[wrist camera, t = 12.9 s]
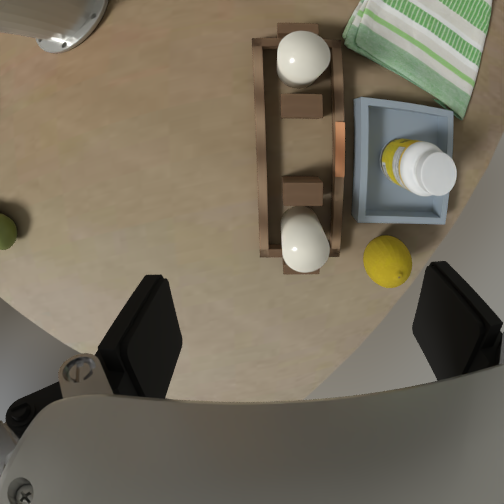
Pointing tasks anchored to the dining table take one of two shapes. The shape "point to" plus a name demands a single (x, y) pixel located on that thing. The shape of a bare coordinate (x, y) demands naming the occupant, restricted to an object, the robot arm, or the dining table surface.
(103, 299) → the dining table surface
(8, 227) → the pear
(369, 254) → the lemon
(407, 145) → the supplement bottle
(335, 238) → the clip rack
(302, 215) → the cartridge
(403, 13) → the dish towel
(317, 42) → the cylinder
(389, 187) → the tray
